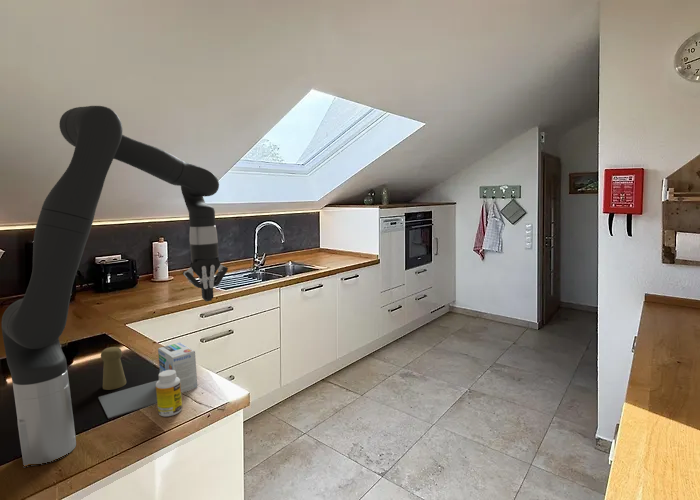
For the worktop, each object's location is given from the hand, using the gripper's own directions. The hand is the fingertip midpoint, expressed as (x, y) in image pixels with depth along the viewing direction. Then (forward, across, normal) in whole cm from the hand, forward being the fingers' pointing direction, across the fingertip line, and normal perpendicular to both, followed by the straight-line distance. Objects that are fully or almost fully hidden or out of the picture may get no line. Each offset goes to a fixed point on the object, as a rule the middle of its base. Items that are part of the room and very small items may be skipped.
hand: (208, 300), depth 122 cm
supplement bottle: (+23, -16, -14) cm, 32 cm away
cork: (+23, -24, +13) cm, 36 cm away
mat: (+23, -22, 0) cm, 31 cm away
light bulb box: (+23, -10, 0) cm, 25 cm away
